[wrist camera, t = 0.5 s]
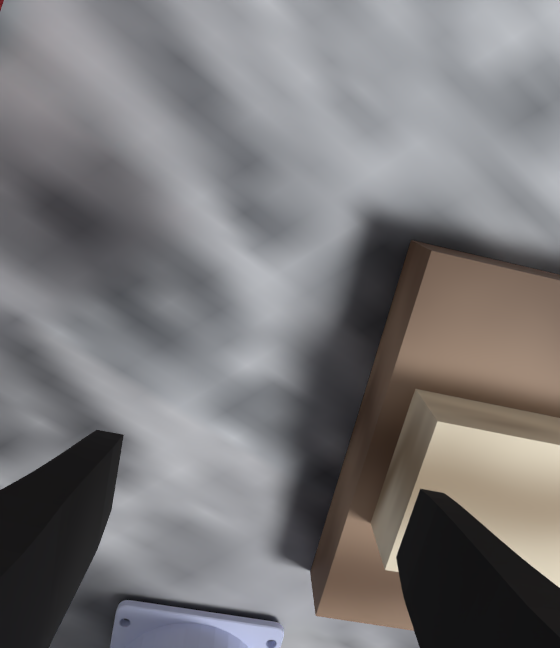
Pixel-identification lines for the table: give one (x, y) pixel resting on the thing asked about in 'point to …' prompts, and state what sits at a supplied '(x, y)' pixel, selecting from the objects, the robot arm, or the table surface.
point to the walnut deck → (439, 377)
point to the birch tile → (477, 475)
